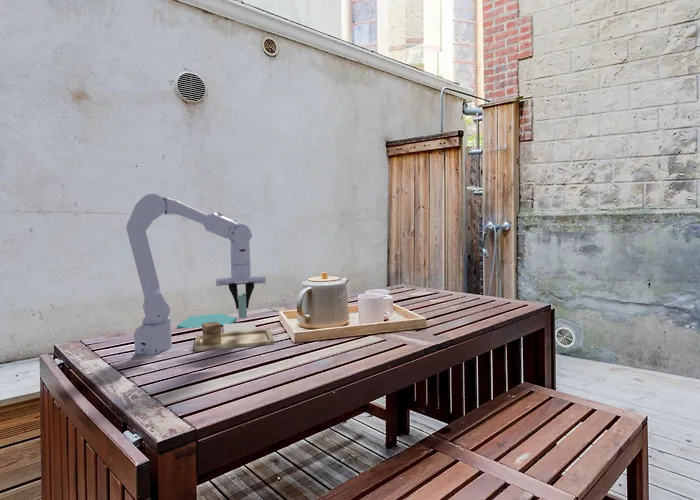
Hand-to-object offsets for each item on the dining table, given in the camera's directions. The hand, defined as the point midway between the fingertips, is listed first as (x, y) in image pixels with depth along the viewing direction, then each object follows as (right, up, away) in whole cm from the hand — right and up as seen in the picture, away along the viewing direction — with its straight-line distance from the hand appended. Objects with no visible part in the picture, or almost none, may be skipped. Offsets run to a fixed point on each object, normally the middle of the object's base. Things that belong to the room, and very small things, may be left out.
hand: (242, 308), depth 134 cm
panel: (0, -2, 0) cm, 2 cm away
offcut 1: (-7, -6, -6) cm, 11 cm away
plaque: (-17, -9, +20) cm, 28 cm away
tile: (-3, -9, +9) cm, 13 cm away
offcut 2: (-7, -9, -6) cm, 13 cm away
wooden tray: (-1, -10, -4) cm, 11 cm away
